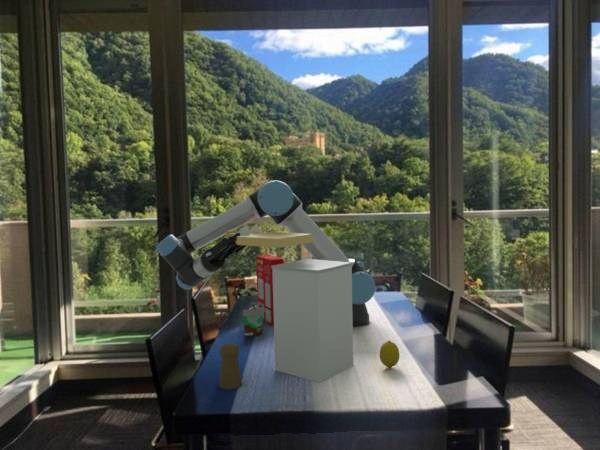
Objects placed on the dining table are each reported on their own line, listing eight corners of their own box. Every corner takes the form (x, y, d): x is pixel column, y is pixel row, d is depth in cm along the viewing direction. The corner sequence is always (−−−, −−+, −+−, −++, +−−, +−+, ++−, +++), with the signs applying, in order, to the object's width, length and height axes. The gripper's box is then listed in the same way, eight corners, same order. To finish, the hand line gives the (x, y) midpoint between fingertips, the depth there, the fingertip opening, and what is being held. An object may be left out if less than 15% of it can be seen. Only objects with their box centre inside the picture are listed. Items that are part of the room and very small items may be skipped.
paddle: (211, 243, 162) (211, 232, 162) (247, 238, 175) (247, 228, 175) (278, 247, 146) (278, 235, 145) (312, 242, 158) (312, 231, 158)
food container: (260, 339, 181) (259, 310, 180) (243, 338, 182) (242, 310, 181) (269, 329, 193) (268, 302, 192) (253, 329, 194) (252, 302, 193)
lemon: (400, 366, 151) (400, 338, 150) (397, 372, 146) (397, 344, 145) (381, 364, 153) (381, 337, 152) (377, 370, 147) (377, 342, 147)
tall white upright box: (274, 370, 150) (271, 265, 147) (309, 355, 162) (307, 258, 160) (320, 382, 139) (318, 270, 137) (354, 365, 152) (352, 262, 150)
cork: (220, 381, 142) (218, 341, 141) (242, 380, 143) (241, 340, 142) (218, 390, 136) (217, 348, 135) (242, 388, 137) (240, 347, 136)
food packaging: (285, 324, 200) (283, 258, 198) (272, 326, 197) (270, 260, 196) (270, 316, 213) (268, 254, 211) (257, 317, 211) (256, 255, 209)
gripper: (232, 268, 181) (276, 237, 168) (193, 276, 168) (238, 242, 154) (223, 249, 183) (266, 216, 170) (185, 255, 169) (228, 220, 156)
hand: (253, 229), depth 162 cm, fingers closed on paddle, 4 cm apart
